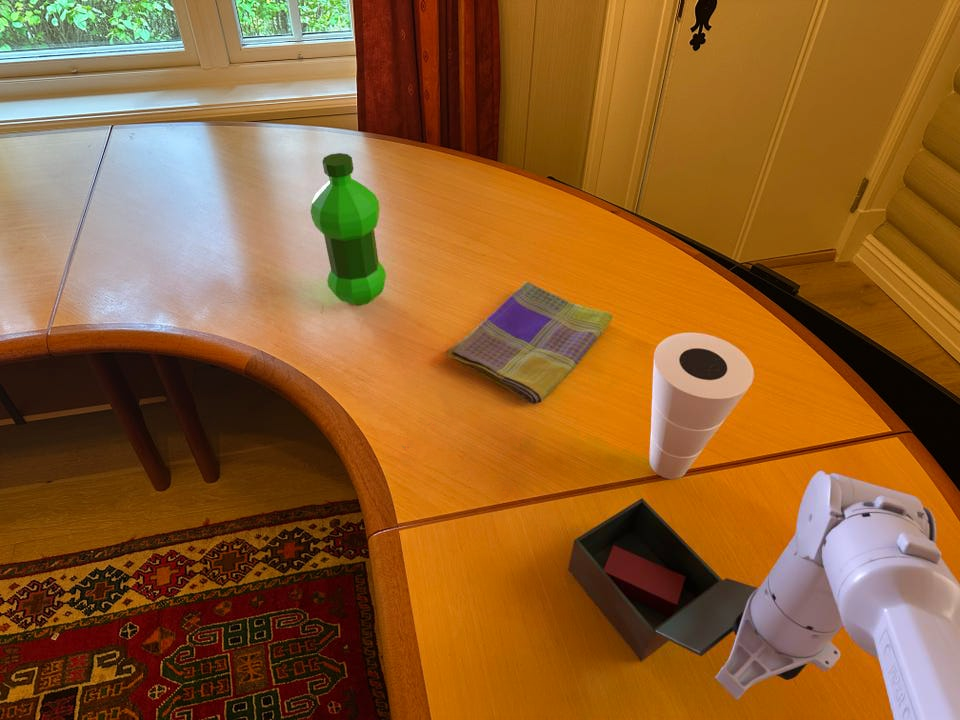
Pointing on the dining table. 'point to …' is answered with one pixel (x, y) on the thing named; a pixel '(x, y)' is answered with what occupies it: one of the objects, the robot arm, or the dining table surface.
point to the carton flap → (708, 617)
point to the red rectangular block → (644, 581)
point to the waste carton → (653, 542)
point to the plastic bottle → (349, 232)
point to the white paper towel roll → (692, 397)
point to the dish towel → (531, 342)
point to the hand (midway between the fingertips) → (752, 665)
